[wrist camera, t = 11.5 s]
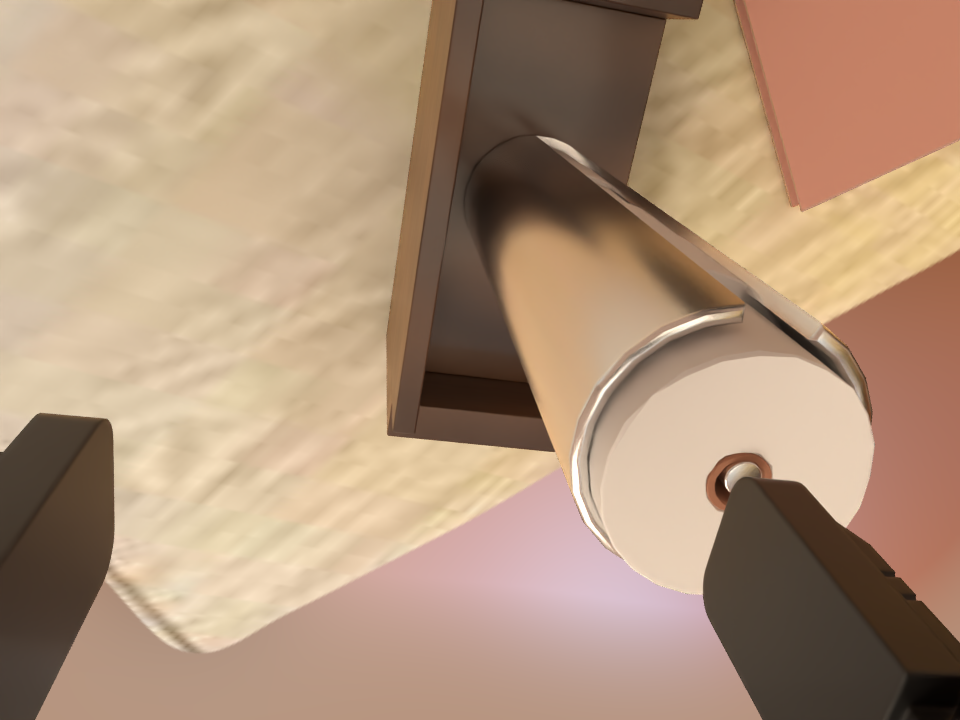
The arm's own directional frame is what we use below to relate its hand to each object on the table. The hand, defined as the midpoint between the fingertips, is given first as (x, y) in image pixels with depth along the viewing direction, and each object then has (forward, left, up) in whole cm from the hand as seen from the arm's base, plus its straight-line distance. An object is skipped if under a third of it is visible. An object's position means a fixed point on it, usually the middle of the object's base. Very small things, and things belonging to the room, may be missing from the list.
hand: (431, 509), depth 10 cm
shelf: (+2, +6, -38) cm, 39 cm away
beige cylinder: (+1, +7, -29) cm, 30 cm away
